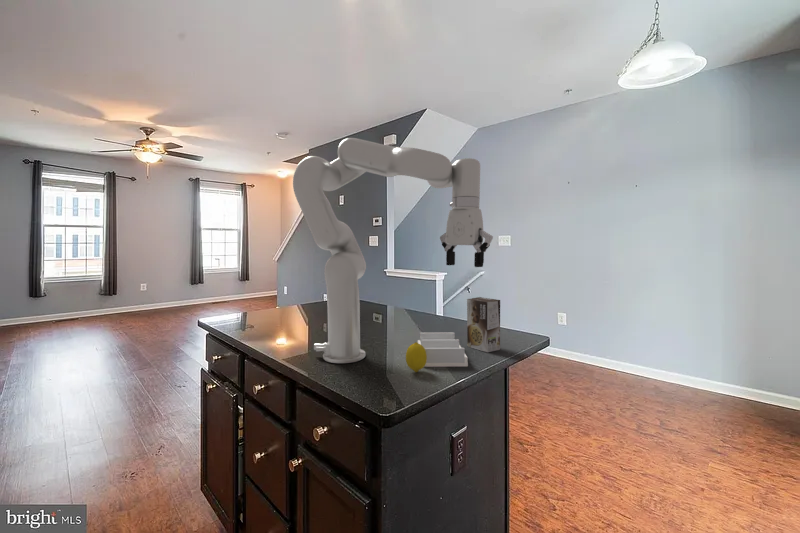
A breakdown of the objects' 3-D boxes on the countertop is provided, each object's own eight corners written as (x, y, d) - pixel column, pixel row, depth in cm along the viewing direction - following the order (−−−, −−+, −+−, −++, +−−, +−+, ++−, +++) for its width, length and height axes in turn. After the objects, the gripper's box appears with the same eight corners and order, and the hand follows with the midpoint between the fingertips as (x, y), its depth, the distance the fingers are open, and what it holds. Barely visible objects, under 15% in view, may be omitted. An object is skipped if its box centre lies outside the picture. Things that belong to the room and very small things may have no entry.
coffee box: (500, 349, 115) (501, 299, 114) (487, 353, 112) (487, 301, 111) (479, 343, 123) (480, 296, 122) (466, 346, 119) (466, 298, 118)
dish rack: (420, 366, 99) (420, 348, 99) (417, 347, 118) (417, 332, 118) (467, 366, 99) (467, 348, 99) (456, 347, 118) (456, 332, 118)
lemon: (425, 376, 92) (425, 345, 91) (404, 375, 93) (403, 344, 93) (427, 369, 97) (427, 340, 97) (407, 367, 98) (407, 339, 98)
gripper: (433, 205, 104) (432, 264, 105) (484, 201, 91) (482, 268, 92) (449, 208, 109) (448, 264, 110) (500, 203, 97) (498, 267, 98)
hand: (464, 266), depth 101 cm, fingers open, 9 cm apart
